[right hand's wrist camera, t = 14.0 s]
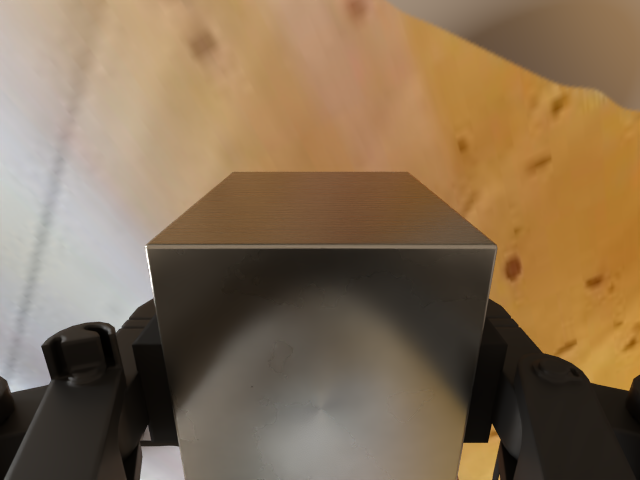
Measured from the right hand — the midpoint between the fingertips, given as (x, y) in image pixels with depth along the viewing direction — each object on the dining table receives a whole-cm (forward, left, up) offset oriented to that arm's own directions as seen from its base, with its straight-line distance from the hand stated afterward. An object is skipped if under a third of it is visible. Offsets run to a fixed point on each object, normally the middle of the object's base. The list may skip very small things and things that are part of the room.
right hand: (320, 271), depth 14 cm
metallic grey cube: (0, 0, 0) cm, 0 cm away
